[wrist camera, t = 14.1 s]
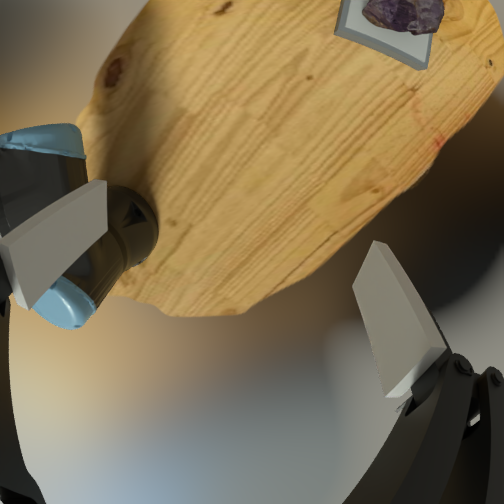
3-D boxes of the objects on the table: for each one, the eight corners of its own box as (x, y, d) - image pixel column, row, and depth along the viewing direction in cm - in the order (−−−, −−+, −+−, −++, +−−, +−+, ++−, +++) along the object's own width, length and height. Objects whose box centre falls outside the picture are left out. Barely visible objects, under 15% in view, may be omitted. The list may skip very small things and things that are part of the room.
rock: (347, 10, 23) (403, 55, 25) (357, -7, 16) (426, 51, 18) (388, -30, 16) (441, 15, 18) (404, -49, 10) (467, 6, 12)
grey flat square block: (333, 34, 27) (338, 28, 24) (347, -30, 20) (352, -38, 17) (417, 70, 28) (428, 68, 25) (427, 6, 21) (436, 2, 18)
